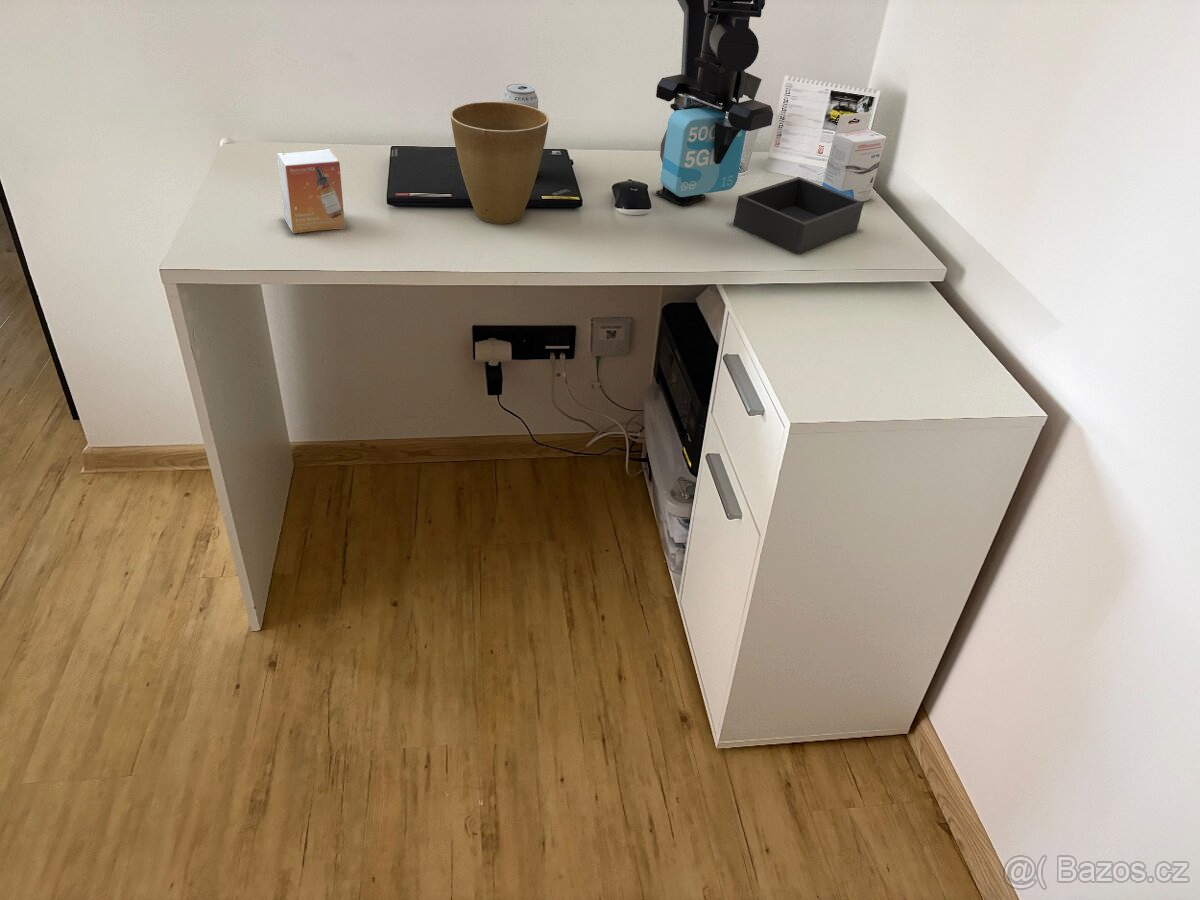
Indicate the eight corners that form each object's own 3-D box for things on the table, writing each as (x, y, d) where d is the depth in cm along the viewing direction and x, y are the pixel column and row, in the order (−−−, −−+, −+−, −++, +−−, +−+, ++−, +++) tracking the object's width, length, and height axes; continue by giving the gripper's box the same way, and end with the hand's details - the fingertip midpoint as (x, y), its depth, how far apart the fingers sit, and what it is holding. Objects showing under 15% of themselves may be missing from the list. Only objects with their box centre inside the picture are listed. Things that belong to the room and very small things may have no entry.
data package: (674, 198, 141) (685, 120, 134) (658, 187, 144) (668, 110, 136) (736, 189, 146) (750, 113, 139) (719, 179, 149) (732, 104, 142)
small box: (292, 235, 136) (283, 165, 130) (284, 220, 140) (275, 152, 134) (346, 228, 140) (340, 160, 133) (336, 214, 143) (330, 147, 137)
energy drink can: (494, 174, 162) (495, 87, 153) (514, 166, 166) (516, 80, 157) (522, 183, 160) (525, 95, 151) (541, 174, 164) (545, 88, 155)
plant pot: (560, 212, 151) (566, 114, 142) (512, 242, 141) (515, 138, 131) (485, 189, 156) (486, 93, 147) (433, 217, 146) (430, 115, 136)
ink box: (837, 207, 163) (858, 124, 154) (818, 197, 167) (837, 115, 158) (870, 200, 167) (892, 118, 159) (851, 190, 171) (871, 110, 162)
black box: (732, 224, 153) (738, 196, 150) (792, 204, 163) (798, 176, 160) (798, 254, 146) (804, 224, 143) (856, 230, 155) (864, 202, 152)
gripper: (805, 61, 132) (783, 167, 142) (708, 31, 143) (694, 131, 152) (758, 71, 126) (738, 181, 135) (659, 39, 136) (648, 143, 145)
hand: (704, 158), depth 142 cm, fingers closed on data package, 5 cm apart
